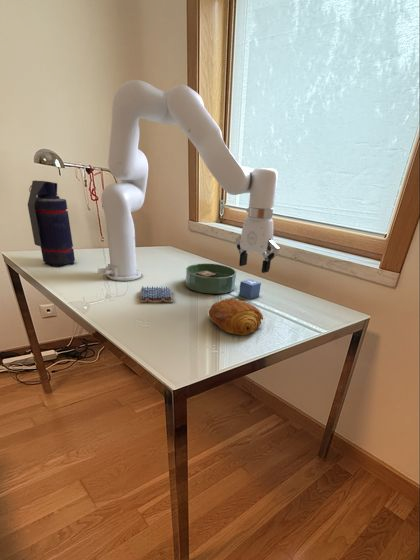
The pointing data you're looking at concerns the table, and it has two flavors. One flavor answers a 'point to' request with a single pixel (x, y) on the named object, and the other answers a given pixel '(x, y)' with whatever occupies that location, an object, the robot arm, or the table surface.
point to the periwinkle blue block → (249, 289)
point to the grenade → (50, 223)
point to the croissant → (235, 316)
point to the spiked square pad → (156, 294)
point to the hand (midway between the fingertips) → (253, 268)
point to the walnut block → (206, 274)
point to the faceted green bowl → (211, 285)
